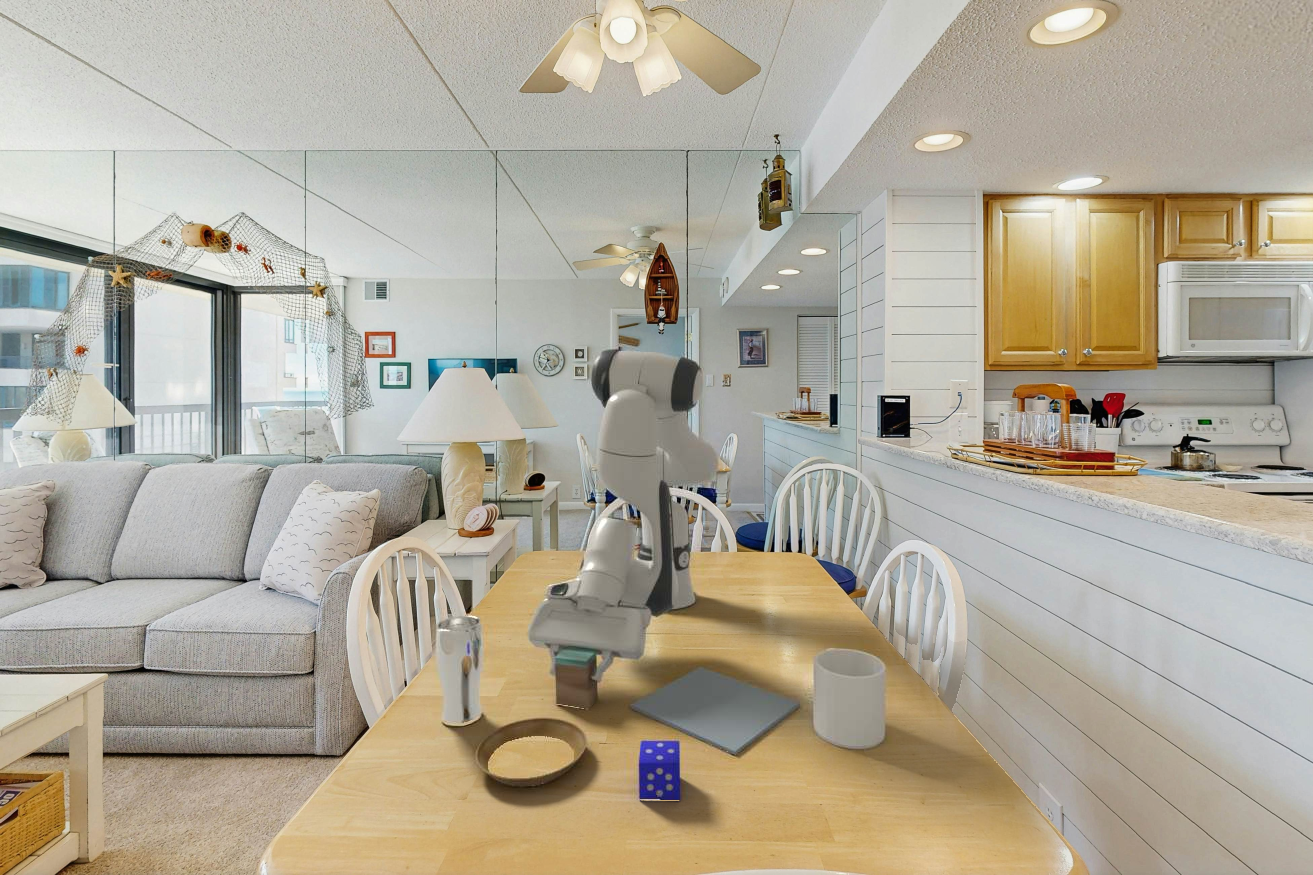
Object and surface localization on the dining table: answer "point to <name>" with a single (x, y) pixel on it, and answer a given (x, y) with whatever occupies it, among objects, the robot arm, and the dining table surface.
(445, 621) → the silver metal tumbler
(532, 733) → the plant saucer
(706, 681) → the slate mat
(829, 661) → the mug
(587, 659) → the green and brown block
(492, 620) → the dining table surface
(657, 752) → the die
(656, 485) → the robot arm
